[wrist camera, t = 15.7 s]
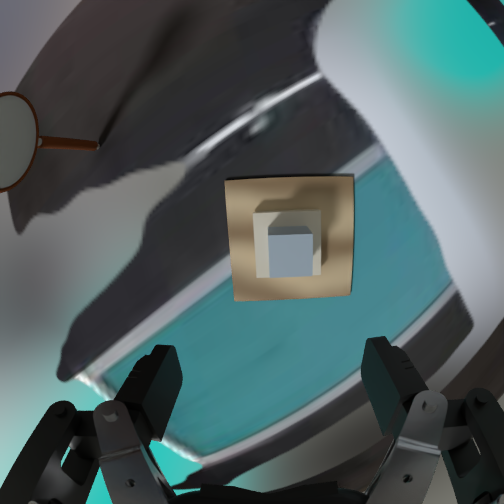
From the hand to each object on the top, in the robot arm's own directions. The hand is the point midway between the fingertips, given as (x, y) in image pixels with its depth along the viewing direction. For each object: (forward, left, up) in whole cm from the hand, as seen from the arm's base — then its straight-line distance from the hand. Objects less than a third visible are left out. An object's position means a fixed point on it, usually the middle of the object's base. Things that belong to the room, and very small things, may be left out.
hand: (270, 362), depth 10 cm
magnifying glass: (-14, -20, -21) cm, 32 cm away
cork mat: (0, +3, -21) cm, 21 cm away
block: (0, +2, -19) cm, 19 cm away
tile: (0, -1, -19) cm, 19 cm away
